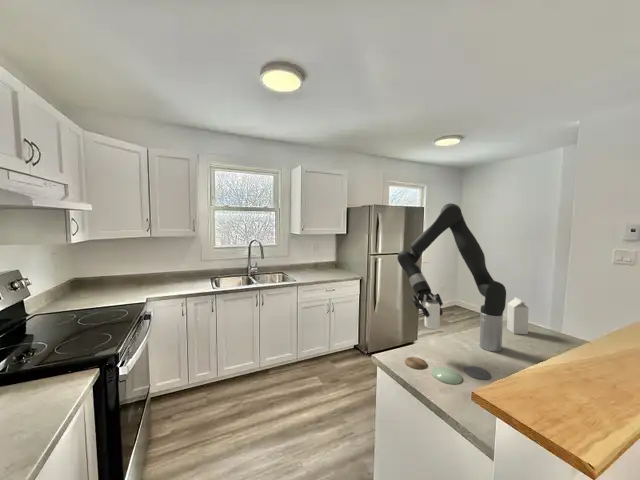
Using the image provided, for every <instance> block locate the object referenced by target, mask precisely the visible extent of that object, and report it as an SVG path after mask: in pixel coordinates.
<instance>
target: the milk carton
mask: <svg viewBox="0 0 640 480" xmlns="http://www.w3.org/2000/svg"><path fill="white" fill-rule="evenodd" d="M513 297H514V299H512V300H511V301H509V302H507V314H506V316H507V317H506V318H507V319H506V330H507V331H509V332H510V333H512V334H514V335H528V331H529V330H528V329H529V327H528V326H529V307H528V306H527V305H526V302H525V301H523V300H522V299H520V298H518V297H515V296H513Z"/></svg>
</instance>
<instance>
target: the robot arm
mask: <svg viewBox="0 0 640 480" xmlns="http://www.w3.org/2000/svg"><path fill="white" fill-rule="evenodd" d="M447 229H450V231H451V233H452V236H453V238H454V242H455V244H456V247H457V249H458V252H459V253H460V254H459V255H460V256H461V257H462V259H463V260H464V263H465V264H466V266H467V268H468V269H469V271H470V273H471V275H472V277H473V280H474V282H475V285H476V287H477V290H478V291H479V294H480V295H482V296H483V297H484V304H483V305H480V317H479V319H480V320H479V321H480V322H479V347H480V348H482V349H483V350H487V351H488V352H489V351H490V352H501V351H502V350H503V329H504V328H503V323H504V322H503V318H504V311H505V309H506V300H507V289H506V286H505V285H504V284H503V283H501V282H499V281H496V280H494V278H493V277H492V275H491V274H490V272H489V271H488V269H487V265H486V257H485V253H484V251H483V249H482V247H481V245H480V243H479V242H478V240H477V239H476V237H475V235H474V234H473V232H472V231H471V230H470V229H469V227H468V225H467V223H466V221H465V218H464V216H463V212H462V209H461V208H460V206H459V205H458V204H456V203H447V204H444V206H443V207H442V208H441V210H440V214H438V216H437V217H436V219H435V220H434V222H433V223H432V224H431V225H430V226H429V227H427V229H426V230H424V231H423V232H422V233H420V235H419V236H418V237H417V238H416V239H414V240H413V242H412V243H411V245H410V248H411V251H410V252H409V251H406V250H401V251H399V252H398V253H397V262H398V263H399V265H400V267H401V268H402V269H403V271H405V273H406V276H407V278H408V280H409V283H410V286H411V287H412V289H413V292H414V294H415V295H413V296H412V297H411V300H412V302H413V304H414V306H415V307H416V309H417V310H420V311H422V314H423V316H424V317H425V316H426V317H428V316H429V313H428V311H427V309H426V308H425V303H426V301H427V300H435V301H438V302H439V305H440V317H441V316H443V313H444V311H443V310H442V308H441V307H442V306H443V301H442V298H441V295H440V294H439V293H436V294H433V292H432V289H431V287H430V285H429V283H428V281H427V279H426V277H425V275H424V274H423V272H422V270H421V269H420V266H418V265H417V263H418V261H419V260H420V258H421V256H422V254H423V253H424V252H425V251H426V250H427V249H428V248H429V247H430V245H432V243H434V241H436V239H437V238H438V237H439V236H440V235H442V234H443V233H444V232H445V231H446V230H447Z"/></svg>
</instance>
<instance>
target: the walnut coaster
mask: <svg viewBox="0 0 640 480" xmlns="http://www.w3.org/2000/svg"><path fill="white" fill-rule="evenodd" d="M404 363H405V365H406V366H407V367H409V368H411V369H415V370H423V369H424V370H425V369H426V368H427V366H428V363H427V361H425V360H424V359H422V358H419V357H415V356H410V357H409V356H408V357H407V358H405V360H404Z"/></svg>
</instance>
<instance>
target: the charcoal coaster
mask: <svg viewBox="0 0 640 480" xmlns="http://www.w3.org/2000/svg"><path fill="white" fill-rule="evenodd" d="M464 372H465V374H466V375H467V376H469V377H471V378H473V379H475V380H476V379H477V380H483V381H485V380H486V381H487V380H489V379H490V378H491V373H490V372H489V371H488V370H487V369H484V368H482V367H480V366H476V365H475V366H474V365H469V366H466V367H464Z"/></svg>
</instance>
